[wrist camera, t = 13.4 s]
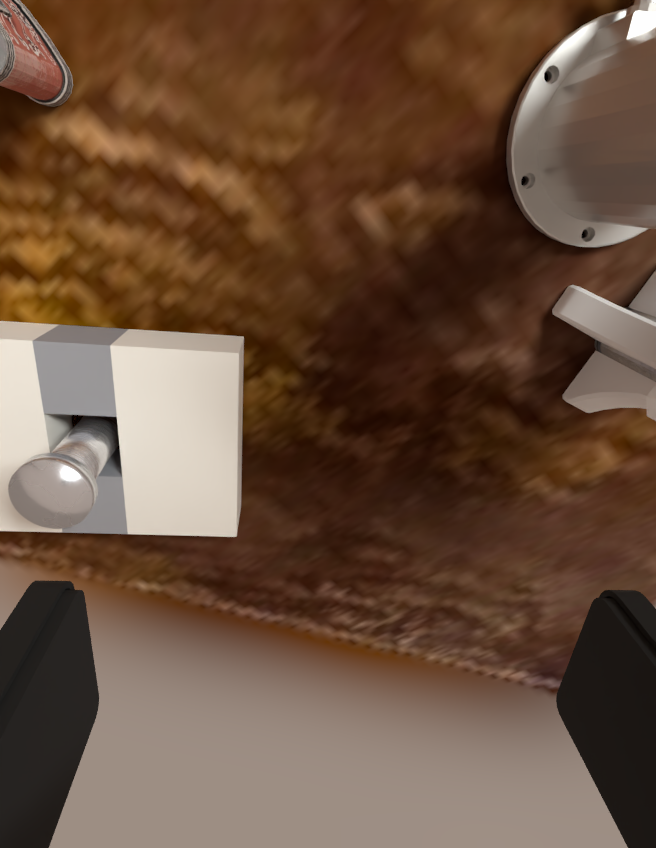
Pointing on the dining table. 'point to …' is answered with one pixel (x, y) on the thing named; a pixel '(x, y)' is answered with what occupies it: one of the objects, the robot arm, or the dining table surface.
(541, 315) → the dining table surface
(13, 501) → the steel pin
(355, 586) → the dining table surface
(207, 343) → the clevis block
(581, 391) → the toy gun turret
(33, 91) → the lighter
